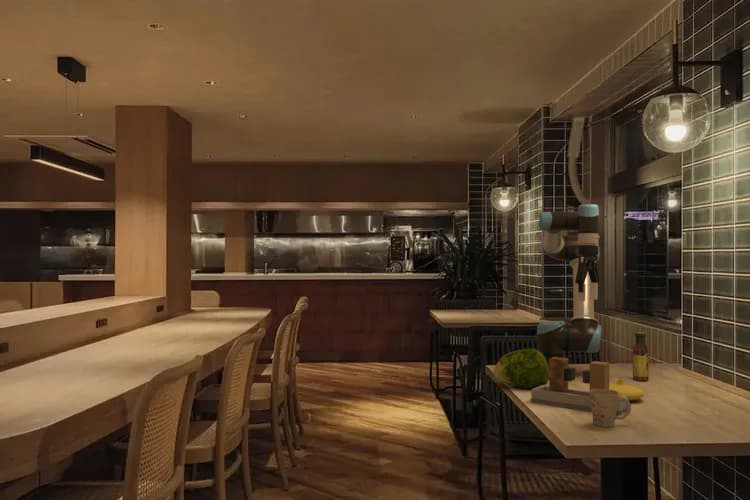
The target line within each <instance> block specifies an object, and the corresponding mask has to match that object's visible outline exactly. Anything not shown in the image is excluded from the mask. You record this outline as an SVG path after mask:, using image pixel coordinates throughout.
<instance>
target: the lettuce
mask: <svg viewBox="0 0 750 500" xmlns="http://www.w3.org/2000/svg"><path fill="white" fill-rule="evenodd" d="M493 374H494V375H493V376H494V378H495V379H496V381H497V382H498V383H500V384H504V385H507V386H509V387H513V388H518V389H519V388H520V389H534V388H536V387H539V386H541V385H545V386H546V385H547V383H548V382H549V368H548V364H547V361H546V359H545V357H544V356H543V354H542V353H541V352H540V351H539V350H537V348H521V349H518V350H514V351H511V352H507V353H505V354H504V355H503V356H501V358H500V359H499V361H497V363H496V365H495V366H494V369H493Z"/></svg>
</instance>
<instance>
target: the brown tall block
mask: <svg viewBox="0 0 750 500" xmlns="http://www.w3.org/2000/svg"><path fill="white" fill-rule="evenodd" d="M574 380H576V367H569V358H568V357H567V358H566V357H565V358H559V357H553V358H550V359H549V381H548V382H549V385H548V386H549V391H554V392H562V393H568V389H569V382H573V381H574Z"/></svg>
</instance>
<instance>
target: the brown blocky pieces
mask: <svg viewBox="0 0 750 500" xmlns="http://www.w3.org/2000/svg"><path fill="white" fill-rule="evenodd" d="M582 383H583V384H589V388H588V389H589V390H581V389H573V388H568V393H562V392H554V391H549V385H546V384H545V385H541V386H539V387H536V388H531V400H530V403H533V404H540V405H545V406H546V405H547V406H555V407H561V408H567V409H573V410H580V411H586V412H592V409H591V401H590V393H589V391H590V390H591V389H608V390H609V385H610V362H607V361H606V362H605V361H598V360H597V361H596V360H594V361H591V362H590V363H589V369H587V368H586V369H584V370H582ZM618 397H624V398H626V399H627V400H628V397H627V396H620V395H618ZM626 410H627V406H626V404H625V403H624V402H623V401H618V402H617V409H616V416H618V415H620V416H622V415H623V414H625V411H626ZM622 413H623V414H622Z"/></svg>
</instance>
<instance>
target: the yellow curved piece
mask: <svg viewBox="0 0 750 500" xmlns="http://www.w3.org/2000/svg"><path fill="white" fill-rule="evenodd" d="M616 381H617V382H616V383H614V384H609V390H614V391H617V392H618V395H620V396H627V397H628V401H629V402H631V401H632V402H633V401H637V400H639V399H643V397H644V395H645V392H644V391H643V389H641V388H638V387H634V386H631V385H628V384H627V385H626V384H625V379H622V378H621V379H620V378H619V379H617V380H616Z"/></svg>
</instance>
